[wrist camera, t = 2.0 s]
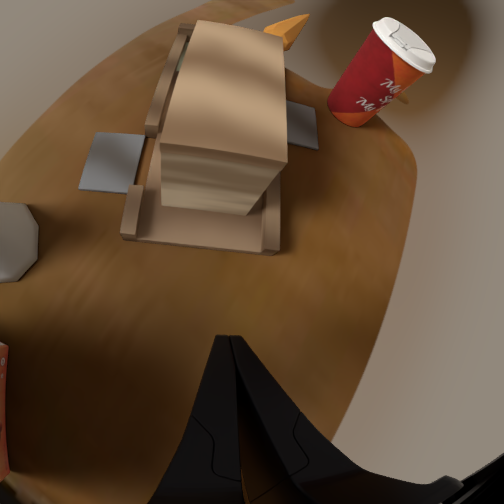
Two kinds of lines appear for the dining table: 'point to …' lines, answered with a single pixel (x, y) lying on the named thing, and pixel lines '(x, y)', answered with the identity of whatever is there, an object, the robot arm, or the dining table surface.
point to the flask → (16, 241)
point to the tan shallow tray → (149, 201)
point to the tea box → (225, 120)
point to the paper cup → (379, 72)
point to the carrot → (288, 29)
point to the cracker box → (3, 413)
